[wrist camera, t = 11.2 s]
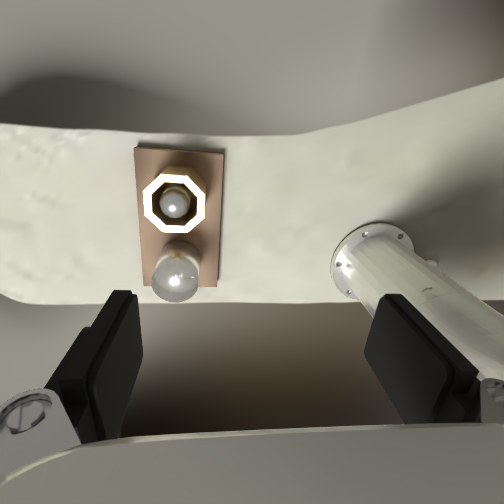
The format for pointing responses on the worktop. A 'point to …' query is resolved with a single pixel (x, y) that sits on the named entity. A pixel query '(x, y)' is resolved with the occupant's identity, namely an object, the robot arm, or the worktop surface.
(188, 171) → the brass coupling
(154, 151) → the pipe board
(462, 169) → the worktop surface
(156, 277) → the pair of light bulbs
